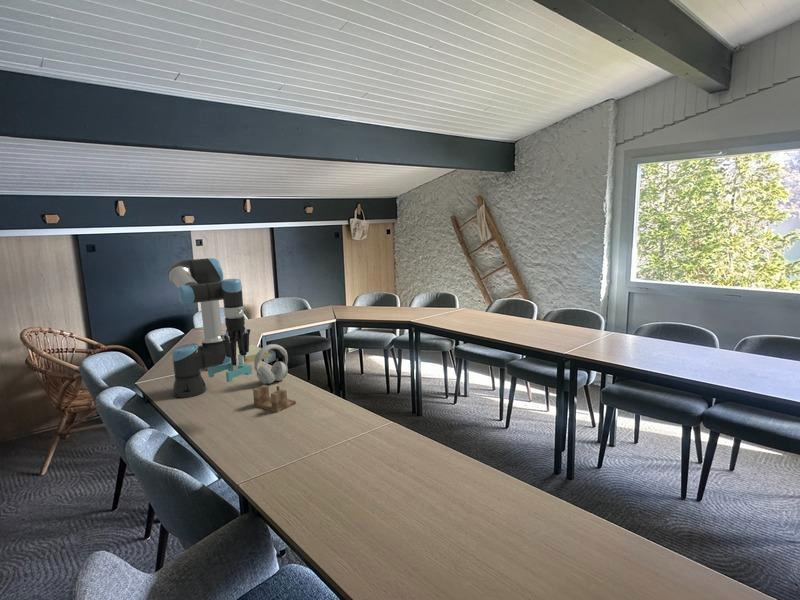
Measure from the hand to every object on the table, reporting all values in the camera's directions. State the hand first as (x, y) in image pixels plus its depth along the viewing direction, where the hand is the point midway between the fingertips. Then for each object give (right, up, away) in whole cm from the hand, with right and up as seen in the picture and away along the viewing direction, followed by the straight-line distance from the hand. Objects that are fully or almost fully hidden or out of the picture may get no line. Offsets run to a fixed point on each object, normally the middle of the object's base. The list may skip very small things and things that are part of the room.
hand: (239, 370), depth 196 cm
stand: (+11, -17, +14) cm, 25 cm away
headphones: (+2, -13, +44) cm, 46 cm away
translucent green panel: (-34, -7, +86) cm, 93 cm away
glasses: (-2, -1, -4) cm, 5 cm away
